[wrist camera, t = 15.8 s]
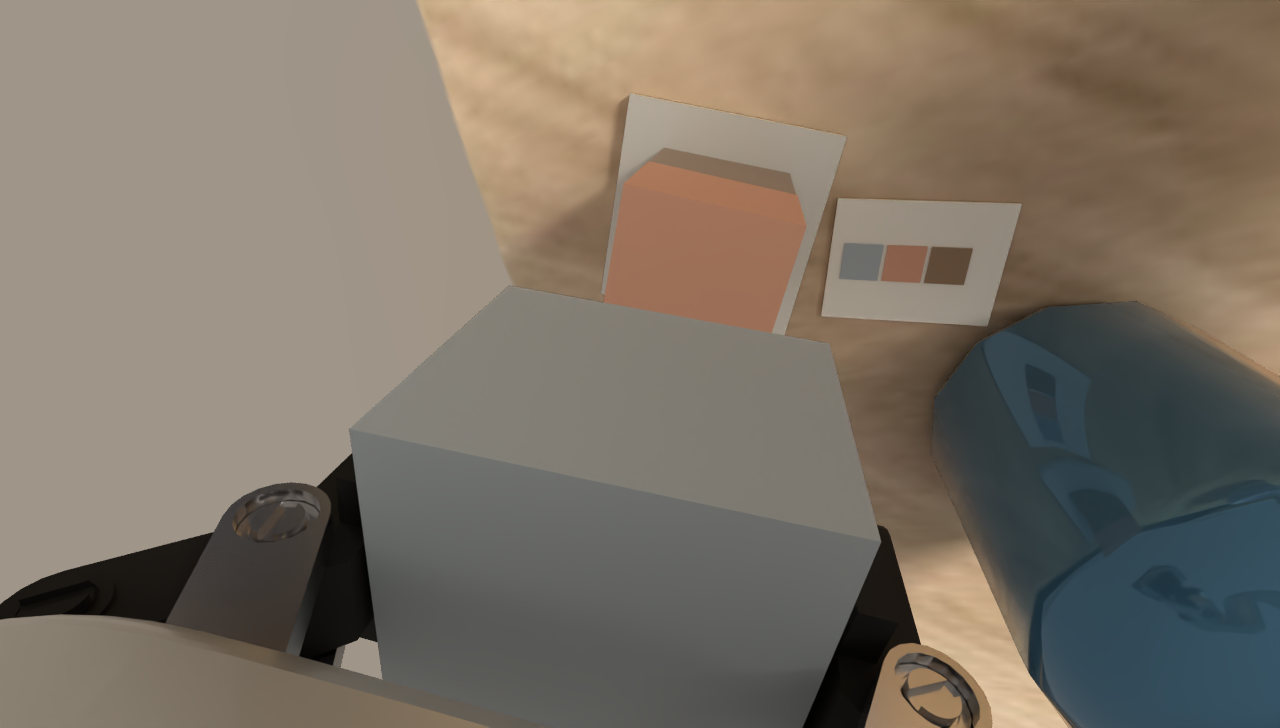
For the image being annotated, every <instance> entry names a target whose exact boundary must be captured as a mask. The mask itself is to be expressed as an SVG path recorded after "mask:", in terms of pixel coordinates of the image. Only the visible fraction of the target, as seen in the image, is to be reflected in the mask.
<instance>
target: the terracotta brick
mask: <svg viewBox="0 0 1280 728" xmlns="http://www.w3.org/2000/svg"><path fill="white" fill-rule="evenodd" d="M806 226H807V225H806V222H805V219H804V215H803V212H802V209H801V205H800V202H799V198H798V195H795V194H791V193H787V192H782V191H778V190H773V189H769V188H765V187H760V186H756V185H751V184H747V183H743V182H738V181H734V180H729V179H725V178H721V177H716V176H712V175H708V174H703V173H699V172H694V171H690V170H686V169H681V168H677V167H672V166H668V165H664V164H659V163H655V162H650V161H648V162H647V163H646V164H645V165H644V166H643V167H642V168H641V169H639V170H638V171H637V172H636V173H635V174H634V175H633V176H632V177H630V178H629V179H628V180H627V181H626V182H625V183H624V184H623V190H622V196H621V202H620V208H619V214H618V220H617V226H616V231H615V237H614V243H613V249H612V255H611V261H610V267H609V273H608V279H607V285H606V291H605V296H604V303H609V304H615V305H620V306H626V307H631V308H637V309H642V310H648V311H653V312H659V313H664V314H670V315H675V316H681V317H686V318H692V319H697V320H703V321H708V322H714V323H719V324H725V325H730V326H736V327H741V328H747V329H752V330H758V331H763V332H769V333H772V331H773V328H774V324H775V321H776V318H777V315H778V312H779V309H780V306H781V303H782V300H783V297H784V294H785V291H786V288H787V285H788V282H789V279H790V275H791V272H792V269H793V266H794V263H795V260H796V257H797V254H798V251H799V248H800V245H801V242H802V239H803V236H804V233H805V230H806Z"/></svg>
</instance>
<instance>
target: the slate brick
mask: <svg viewBox="0 0 1280 728" xmlns="http://www.w3.org/2000/svg"><path fill="white" fill-rule="evenodd" d="M349 431H350V438H351V447H352V454H353V462H354V469H355V476H356V484H357V491H358V499H359V506H360V514H361V521H362V529H363V536H364V544H365V551H366V559H367V566H368V574H369V581H370V589H371V596H372V604H373V611H374V619H375V626H376V634H377V641H378V648H379V655H380V664H381V671H382V678H383V680H385V681H389V682H393V683H396V684H400V685H403V686H407V687H411V688H414V689H418V690H421V691H425V692H429V693H432V694H436V695H439V696H443V697H446V698H450V699H454V700H457V701H461V702H464V703H468V704H471V705H475V706H478V707H482V708H485V709H489V710H492V711H496V712H499V713H503V714H506V715H510V716H513V717H517V718H520V719H524V720H527V721H531V722H534V723H538V724H542V725H545V726H549V727H552V728H802V727H803V725H804V723H805V720H806V718H807V716H808V713H809V711H810V709H811V706H812V704H813V702H814V699H815V697H816V694H817V692H818V690H819V687H820V685H821V683H822V680H823V678H824V676H825V673H826V671H827V669H828V666H829V664H830V661H831V659H832V657H833V654H834V652H835V650H836V647H837V645H838V643H839V640H840V638H841V636H842V633H843V631H844V629H845V626H846V624H847V621H848V619H849V617H850V614H851V612H852V610H853V607H854V605H855V603H856V600H857V598H858V596H859V593H860V591H861V588H862V586H863V584H864V581H865V579H866V577H867V574H868V572H869V570H870V567H871V565H872V563H873V560H874V558H875V555H876V553H877V551H878V548H879V546H880V544H881V539H880V535H879V531H878V528H877V524H876V520H875V516H874V512H873V508H872V505H871V501H870V497H869V493H868V489H867V485H866V482H865V478H864V474H863V470H862V466H861V462H860V459H859V455H858V451H857V447H856V443H855V439H854V436H853V432H852V428H851V424H850V420H849V416H848V413H847V409H846V405H845V401H844V397H843V393H842V390H841V386H840V382H839V378H838V374H837V370H836V367H835V363H834V359H833V355H832V351H831V347H830V344H829V343H824V342H819V341H813V340H807V339H802V338H796V337H791V336H785V335H780V334H774V333H769V332H763V331H758V330H752V329H747V328H741V327H736V326H730V325H725V324H719V323H714V322H708V321H703V320H697V319H692V318H686V317H681V316H675V315H670V314H664V313H659V312H653V311H648V310H642V309H637V308H631V307H626V306H620V305H615V304H609V303H604V302H598V301H593V300H587V299H582V298H576V297H571V296H565V295H560V294H554V293H549V292H543V291H538V290H532V289H527V288H521V287H516V286H510V285H509V286H508V287H507V288H506V289H504V290H503V291H502V292H501V293H500V294H499V295H498V296H497V297H496V298H494V299H493V300H492V301H491V302H490V303H489V304H488V305H487V306H486V307H484V308H483V309H482V310H481V311H480V312H479V313H478V314H477V315H475V316H474V317H473V318H472V319H471V320H470V321H469V322H468V323H467V324H465V325H464V326H463V327H462V328H461V329H460V330H459V331H458V332H457V333H455V334H454V335H453V336H452V337H451V338H450V339H449V340H448V341H447V342H445V343H444V344H443V345H442V346H441V347H440V348H439V349H438V350H437V351H436V352H434V353H433V354H432V355H431V356H430V357H429V358H428V359H426V360H425V361H424V362H423V363H422V364H421V365H420V366H419V367H418V368H417V369H415V370H414V371H413V372H412V373H411V374H410V375H409V376H408V377H406V378H405V379H404V380H403V381H402V382H401V383H400V384H399V385H398V386H396V387H395V388H394V389H393V390H392V391H391V392H390V393H389V394H387V395H386V396H385V397H384V398H383V399H382V400H381V401H380V402H379V403H377V404H376V405H375V406H374V407H373V408H372V409H371V410H370V411H369V412H367V413H366V414H365V415H364V416H363V417H362V418H361V419H360V420H359V421H357V422H356V423H355V424H354V425H353V426H352V427H351V428H350V429H349Z"/></svg>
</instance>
